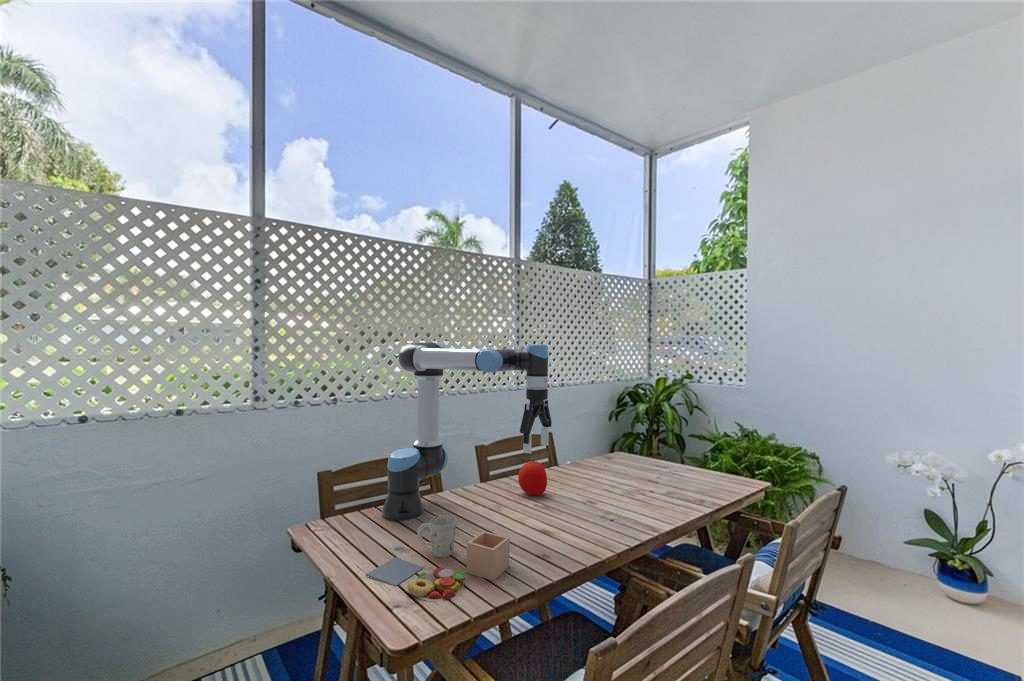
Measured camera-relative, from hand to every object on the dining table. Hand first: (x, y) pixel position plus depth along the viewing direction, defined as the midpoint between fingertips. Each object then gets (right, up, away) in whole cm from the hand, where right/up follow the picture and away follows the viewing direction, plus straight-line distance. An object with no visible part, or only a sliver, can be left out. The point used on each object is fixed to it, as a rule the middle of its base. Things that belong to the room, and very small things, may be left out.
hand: (536, 448), depth 155 cm
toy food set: (-27, -27, -41) cm, 56 cm away
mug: (-32, -27, -21) cm, 46 cm away
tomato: (0, -27, +32) cm, 42 cm away
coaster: (-41, -26, -33) cm, 58 cm away
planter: (-15, -26, -32) cm, 44 cm away
